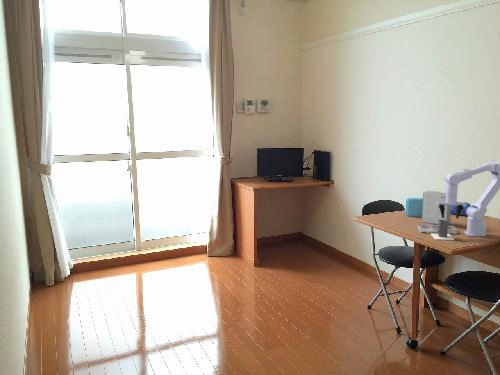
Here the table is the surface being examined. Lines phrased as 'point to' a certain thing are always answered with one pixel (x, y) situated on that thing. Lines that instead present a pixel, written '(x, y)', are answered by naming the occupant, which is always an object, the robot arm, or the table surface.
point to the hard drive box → (434, 207)
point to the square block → (442, 228)
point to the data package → (414, 207)
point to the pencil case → (463, 212)
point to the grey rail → (436, 229)
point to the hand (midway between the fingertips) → (449, 218)
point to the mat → (442, 237)
